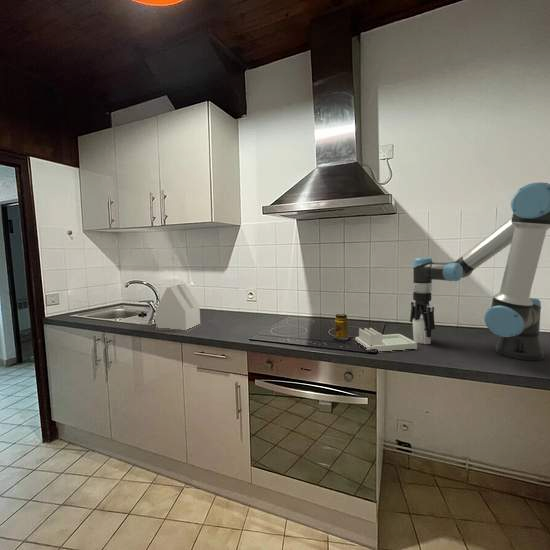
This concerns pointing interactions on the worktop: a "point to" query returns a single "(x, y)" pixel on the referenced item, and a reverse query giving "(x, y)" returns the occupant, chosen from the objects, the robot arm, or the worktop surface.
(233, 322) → the worktop surface
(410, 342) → the dish rack
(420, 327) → the white cup
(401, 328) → the worktop surface
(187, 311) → the white house-shaped block
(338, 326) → the condiment
